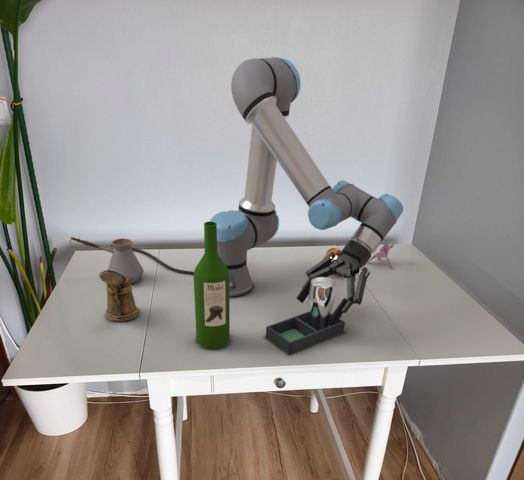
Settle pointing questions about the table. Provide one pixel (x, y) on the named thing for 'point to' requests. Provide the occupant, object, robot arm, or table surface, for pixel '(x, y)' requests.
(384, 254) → the lily
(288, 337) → the rectangular tray
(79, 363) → the table surface
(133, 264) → the coffee pot
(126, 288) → the wooden mug
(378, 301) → the table surface
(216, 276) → the wine bottle
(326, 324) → the beer glass
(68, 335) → the table surface
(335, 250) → the croissant
